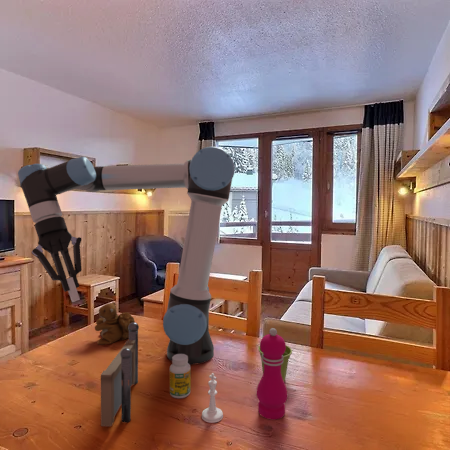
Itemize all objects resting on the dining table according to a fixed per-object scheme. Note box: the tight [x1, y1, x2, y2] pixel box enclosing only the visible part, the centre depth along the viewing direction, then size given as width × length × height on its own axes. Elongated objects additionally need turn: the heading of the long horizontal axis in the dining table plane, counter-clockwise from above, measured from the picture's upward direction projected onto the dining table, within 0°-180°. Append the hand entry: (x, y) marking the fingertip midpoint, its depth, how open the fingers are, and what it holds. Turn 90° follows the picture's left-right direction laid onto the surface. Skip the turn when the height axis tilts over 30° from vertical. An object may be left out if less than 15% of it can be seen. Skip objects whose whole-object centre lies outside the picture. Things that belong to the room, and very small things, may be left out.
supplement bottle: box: [169, 354, 192, 399], centre depth 87 cm, size 5×5×10 cm
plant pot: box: [257, 345, 293, 382], centre depth 95 cm, size 9×9×9 cm
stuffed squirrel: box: [94, 301, 136, 345], centre depth 122 cm, size 10×14×13 cm
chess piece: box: [201, 372, 224, 424], centre depth 78 cm, size 5×5×10 cm
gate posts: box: [120, 321, 140, 424], centre depth 84 cm, size 4×19×17 cm, turn 4°
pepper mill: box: [256, 327, 288, 421], centre depth 79 cm, size 7×7×20 cm
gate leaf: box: [100, 339, 136, 427], centre depth 81 cm, size 19×2×11 cm, turn 179°
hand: (75, 300), depth 92 cm, fingers closed
